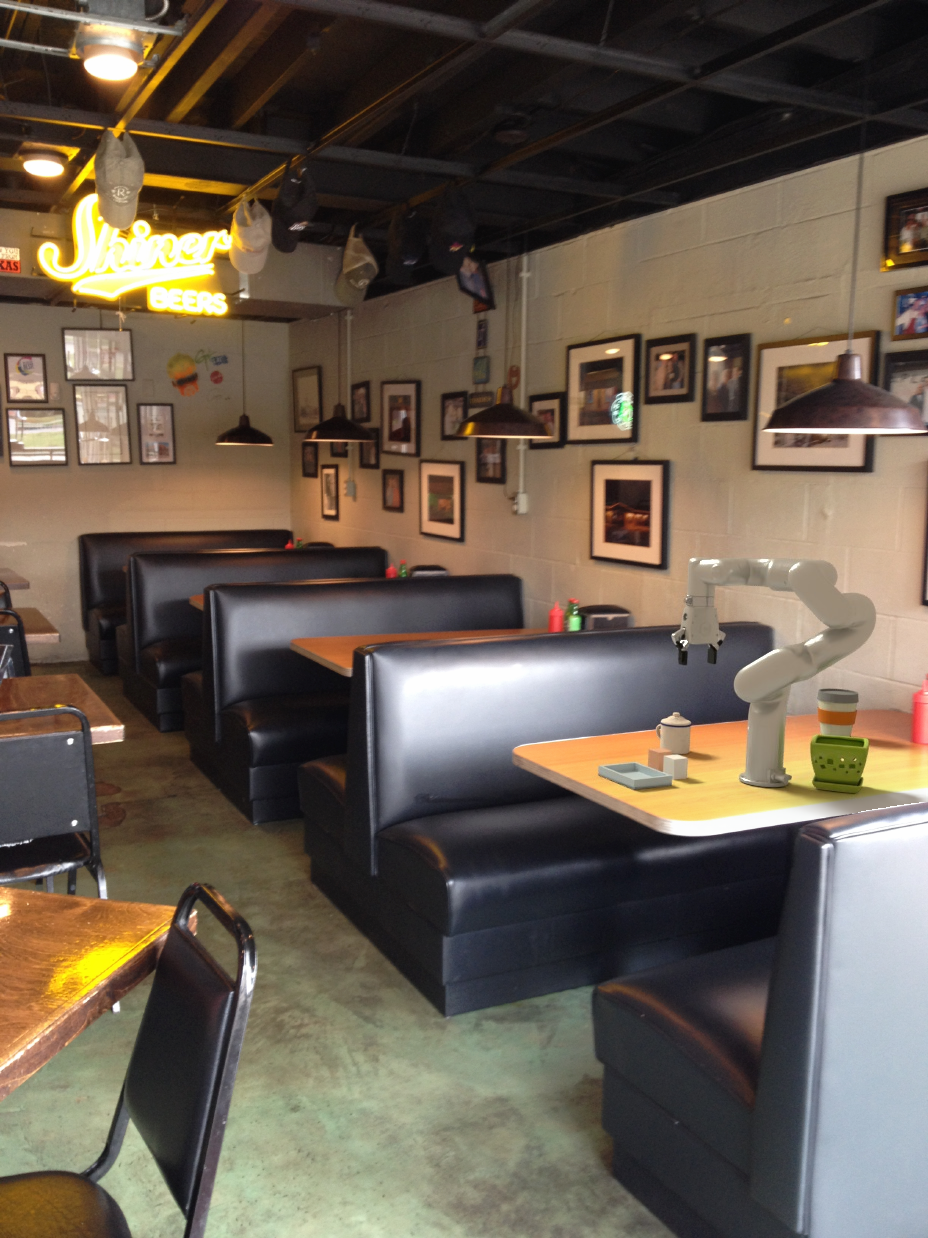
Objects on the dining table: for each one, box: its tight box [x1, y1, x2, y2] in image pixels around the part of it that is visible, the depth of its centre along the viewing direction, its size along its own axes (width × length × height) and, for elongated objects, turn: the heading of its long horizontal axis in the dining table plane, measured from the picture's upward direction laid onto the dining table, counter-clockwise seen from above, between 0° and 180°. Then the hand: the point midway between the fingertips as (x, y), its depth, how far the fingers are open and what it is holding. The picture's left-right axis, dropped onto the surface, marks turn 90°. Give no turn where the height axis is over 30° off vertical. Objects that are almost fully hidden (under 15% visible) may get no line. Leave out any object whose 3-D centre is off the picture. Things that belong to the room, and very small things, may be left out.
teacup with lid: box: [655, 712, 692, 756], centre depth 303 cm, size 12×9×12 cm
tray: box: [597, 761, 673, 791], centre depth 267 cm, size 16×12×3 cm
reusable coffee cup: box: [816, 687, 860, 737], centre depth 328 cm, size 13×13×15 cm
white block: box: [663, 754, 689, 781], centre depth 272 cm, size 4×4×6 cm
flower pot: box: [809, 733, 870, 794], centre depth 264 cm, size 14×14×13 cm
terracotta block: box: [647, 747, 673, 772], centre depth 280 cm, size 4×4×6 cm
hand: (697, 664), depth 281 cm, fingers open, 9 cm apart
